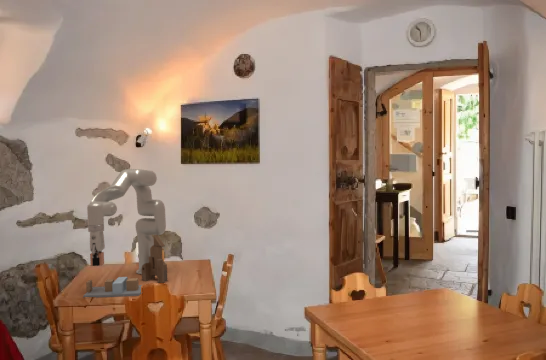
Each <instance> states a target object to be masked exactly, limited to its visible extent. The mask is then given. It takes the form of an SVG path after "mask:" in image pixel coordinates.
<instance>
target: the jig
mask: <svg viewBox="0 0 546 360" xmlns="http://www.w3.org/2000/svg"><path fill="white" fill-rule="evenodd" d="M114 281H115V279H114V278H111V279H110V278H107V279H106V280H105V281H104V286H93V279H90V280H88V281H86V283H85V284H86V285H85V287H86V293H84V294H83V297H82V298H84V297H96V298H116V297H117V298H119V297H139V295H140V294H141V295H142V293H141V286H142V285H143V284H139V278H137V277H135V278H134V277H133V278H132V277H131V278H128V280H127V281H126V287H127V288H126V289H125V290H124V292H123V293H116V294H113V288H112V283H113V282H114ZM141 295H140V296H141Z"/></svg>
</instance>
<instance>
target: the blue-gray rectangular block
mask: <svg viewBox="0 0 546 360" xmlns="http://www.w3.org/2000/svg"><path fill="white" fill-rule="evenodd" d="M128 279H129V278H128V276H118V277H117V278H116V279H114V282H113V283H112V288H113V294H116V293H123V292H124V290H125V289H126V288H127V287H126V281H127V280H128Z"/></svg>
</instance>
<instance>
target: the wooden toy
mask: <svg viewBox="0 0 546 360" xmlns="http://www.w3.org/2000/svg"><path fill="white" fill-rule="evenodd" d="M153 238H154V245H153V246H152V247H151V248H150V257H149V263H145V264H143V266H142V274H141V281H143V282H144V281H145V282H147V281H151V280H155V278H156V277H157V284H159V283H162V284H164V283H165V282H169V281H168V264H167V263H166V262H165V261H164V258H163V247H165V243H164V242H163V241H162V239H161V237H160V236H159V235H153Z"/></svg>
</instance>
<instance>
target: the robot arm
mask: <svg viewBox="0 0 546 360" xmlns="http://www.w3.org/2000/svg"><path fill="white" fill-rule="evenodd" d="M157 180H158V179H157V174H156V173H155V172H154V171H153V170H148V169H142V168H141V169H140V168H129V169H128V168H127V169H122V170H121V171H120V172H119V174H118V175H117V176H116V178H115V180H114V181H113V182H112V183H111V185H109V186H108V187H105V188H104V189H102V190H101V191H99V192H98V193H97V194H95V196H93V198H92V199H91V201H90V202H89V204H88V205H87V206H86V207H87V208H86V210H87V211H86V213H87V230H88V231H87V232H88V233H89V249H90V250H89V251H90V252H91V253H92V260H93V266H92V267H98V266H99V265H100V263H99V252H103V250H104V249H105V248H106V247H105V235H104V231H105V221H104V220H105V218H104V217H112V216H115V214H116V213H117V212H118V206H117V205H116V203H114V202H113V200H117V199H120V198H122V197H124V196H125V194H126V193H127V191H128V190H129V189H130V187H133V189H134V191H135V193H136V209H137V213H138V215H139V216H141V217H142V218H139V219H138V220H136V222H135V231H136V235H137V237H136V238H137V251H138V253H137V254H138V269H136V271H135V272H136V274H138V275H142V266H143V264H145V263H149V257H150V248H151V247H152V246H153V245H154V235H158V236H160V235H163V234H164V233H165V232H166V226H167V221H166V207H165V203H164V202H163V201H162V200H160V199H153V198H152V197H153V195H152V190H151V187H152V186H154V185H155V184H156V183H157ZM152 217H153V218H152ZM96 253H97V254H96ZM99 267H100V266H99Z"/></svg>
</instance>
